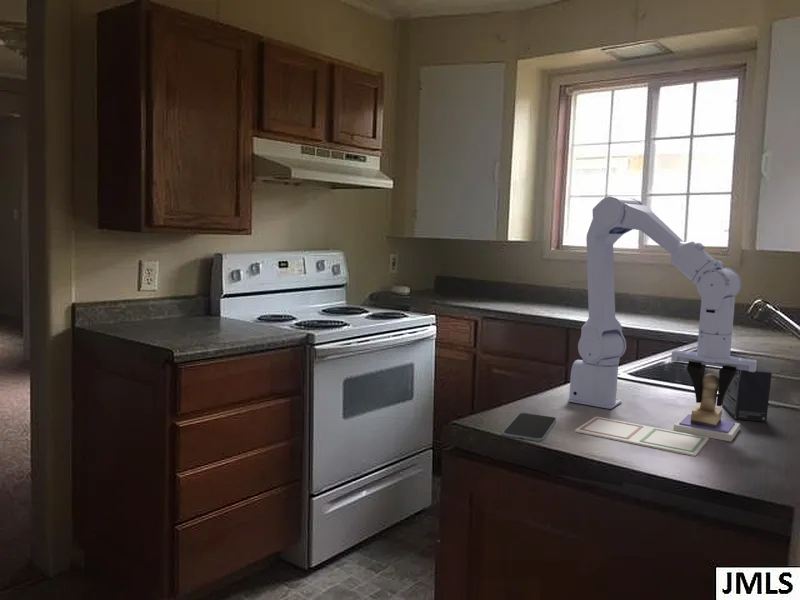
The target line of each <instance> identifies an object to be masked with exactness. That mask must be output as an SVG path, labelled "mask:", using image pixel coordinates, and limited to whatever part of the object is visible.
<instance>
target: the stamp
mask: <svg viewBox="0 0 800 600" xmlns="http://www.w3.org/2000/svg"><path fill="white" fill-rule="evenodd" d="M702 385H703V389H702V396H701V402H700V403H697V405H695V406H694V407H693V409H692V410H691V413H690V414H691V422H690V423H694V424H698V425H703V426H708V427H713V428H716V427H717V425H718V424H719V423H720V421H721V420H722V414H723V408H719V407H716V406H717V397H718V391H719V375H716V374H714V373H707V374H704V377H703V378H702Z"/></svg>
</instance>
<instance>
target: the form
mask: <svg viewBox="0 0 800 600" xmlns="http://www.w3.org/2000/svg"><path fill="white" fill-rule="evenodd" d="M574 433H580V434H585V435H588V436H593V437H594V436H595V437H599V438H603V439H609V440H613V441H618V442H622V443H628V444H634V445H638V446H643V447H647V448H654V449H657V450H661V451H662V450H663V451H667V452H672V453H677V454H681V455H688V456H692V457H696V456H697V455H698V454H699V452H700V451H701V450H702V449H703V448H704V447H705V445H706V444H707V442H708V441H709V440H710V438H709V437H704V436H698V435H693V434H688V433H682V432H677V431H673V430H669V429H664V428H659V427H654V426H649V425H643V424H638V423H633V422H628V421H622V420H618V419H611V418H607V417H601V416H594V417H593V418H591V419H590V420H588V421H587V422H585V423H583V424H582V425H580V426H579V427H577V428H576V429H574Z"/></svg>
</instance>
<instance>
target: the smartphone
mask: <svg viewBox="0 0 800 600" xmlns="http://www.w3.org/2000/svg"><path fill="white" fill-rule="evenodd" d="M556 423H557V418H556V417H554V416H549V415H543V414H542V415H541V414H534V413H528V412H520V413H518V415H516V416H515V418H514V419H513V420H512V421H510V423H509V424H508V425H507V426H506V427H505V429H504V430H503V431H502V436H503V437H509V438H514V439H523V440H529V441H534V442H535V441H536V442H542V441H543V440H545V438H546V437H547V436H548V435H549V432H550V431H551V430H552V429H553V428H554V426H555V424H556Z"/></svg>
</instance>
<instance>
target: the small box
mask: <svg viewBox="0 0 800 600" xmlns="http://www.w3.org/2000/svg"><path fill="white" fill-rule="evenodd" d="M772 375H773V372H772V371H770V370H769V369H767V368H766V367H764V366H762V365H760V364H759V363H756V371H755V372H749V371H747V370H740V369H738V371H737V373H736V374H735V376H734V377H733V379H732V381H731V383H730V384H729V386H728V389H727V391H726V393H725V396H724V400H723V404H722V406H721V407H722V409H724V410H725V411H726V412H727V414H729V415H730V416H731V417H732V418H733V419H734V420H740V421H743V420H744V421H752V422H762V423H767V420H768V411H769V410H768V409H769V402H770V401H769V400H770V390H771V384H772Z"/></svg>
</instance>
